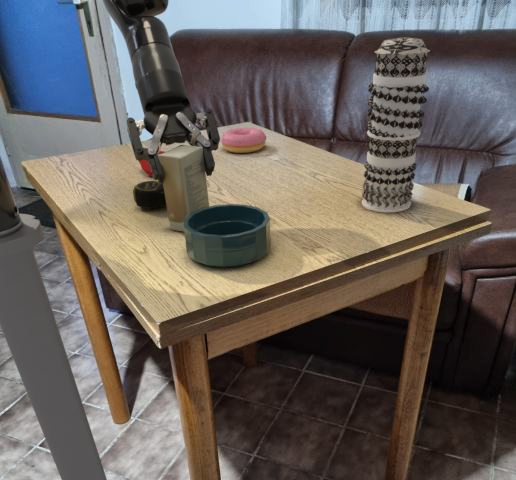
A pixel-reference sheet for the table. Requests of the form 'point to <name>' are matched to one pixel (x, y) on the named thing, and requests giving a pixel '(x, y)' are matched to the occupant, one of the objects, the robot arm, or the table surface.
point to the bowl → (227, 235)
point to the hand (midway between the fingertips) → (186, 176)
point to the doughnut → (243, 140)
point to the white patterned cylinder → (394, 123)
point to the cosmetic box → (184, 183)
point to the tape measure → (149, 194)
